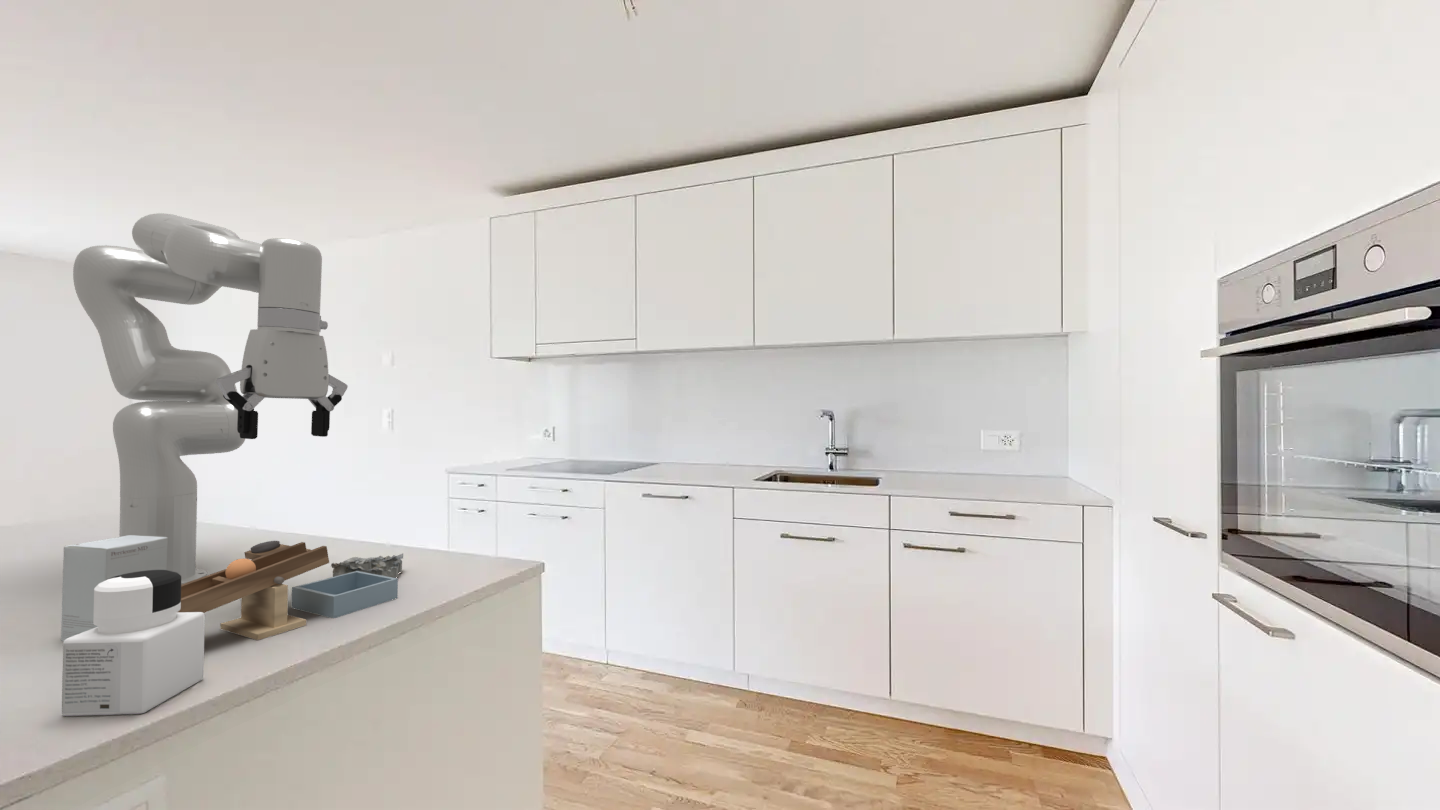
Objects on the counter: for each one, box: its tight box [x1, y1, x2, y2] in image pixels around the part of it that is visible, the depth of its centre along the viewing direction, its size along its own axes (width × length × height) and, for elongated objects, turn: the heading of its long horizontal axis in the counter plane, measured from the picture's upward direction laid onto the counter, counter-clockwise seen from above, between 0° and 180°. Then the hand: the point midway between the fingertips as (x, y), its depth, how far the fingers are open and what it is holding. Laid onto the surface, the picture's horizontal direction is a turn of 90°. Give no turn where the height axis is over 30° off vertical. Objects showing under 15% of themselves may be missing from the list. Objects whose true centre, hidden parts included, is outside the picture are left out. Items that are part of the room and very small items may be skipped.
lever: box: [178, 540, 330, 614], centre depth 80 cm, size 17×21×3 cm
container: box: [61, 570, 206, 717], centre depth 61 cm, size 8×8×13 cm
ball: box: [225, 558, 256, 579], centre depth 78 cm, size 3×3×3 cm
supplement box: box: [60, 535, 168, 642], centre depth 78 cm, size 7×7×13 cm
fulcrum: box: [219, 583, 307, 641], centre depth 81 cm, size 9×6×6 cm, turn 66°
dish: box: [291, 571, 399, 619], centre depth 91 cm, size 10×10×4 cm
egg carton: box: [330, 553, 404, 578], centre depth 105 cm, size 11×8×4 cm
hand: (285, 437), depth 87 cm, fingers open, 9 cm apart
